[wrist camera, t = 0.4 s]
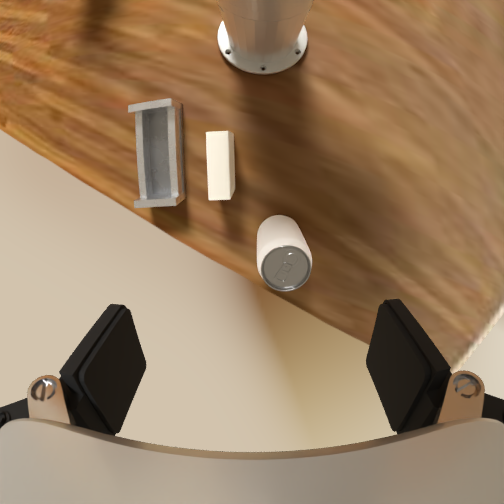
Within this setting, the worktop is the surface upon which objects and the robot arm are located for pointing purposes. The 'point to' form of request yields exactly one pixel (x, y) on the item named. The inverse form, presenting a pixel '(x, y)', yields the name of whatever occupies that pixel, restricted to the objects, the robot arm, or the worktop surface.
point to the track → (159, 153)
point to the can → (282, 254)
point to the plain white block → (220, 165)
